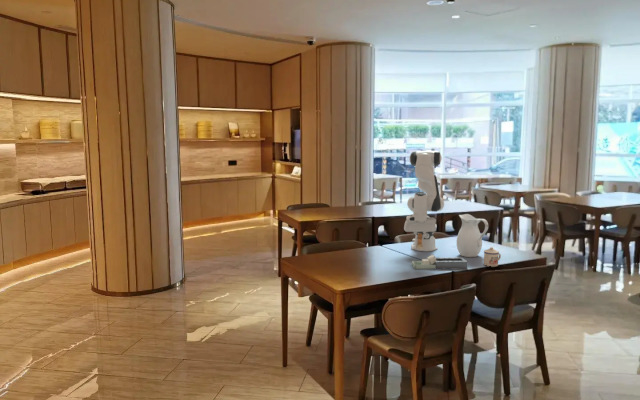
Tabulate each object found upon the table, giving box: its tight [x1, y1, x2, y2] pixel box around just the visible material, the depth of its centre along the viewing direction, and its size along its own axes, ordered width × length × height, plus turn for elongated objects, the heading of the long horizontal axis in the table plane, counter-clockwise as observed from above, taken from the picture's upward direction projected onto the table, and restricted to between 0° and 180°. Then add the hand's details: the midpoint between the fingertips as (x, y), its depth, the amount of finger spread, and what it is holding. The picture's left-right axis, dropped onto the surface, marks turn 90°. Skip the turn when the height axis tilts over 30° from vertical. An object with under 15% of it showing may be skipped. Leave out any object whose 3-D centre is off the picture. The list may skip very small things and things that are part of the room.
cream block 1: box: [421, 258, 430, 265], centre depth 319 cm, size 4×4×4 cm
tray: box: [411, 260, 436, 270], centre depth 320 cm, size 10×13×2 cm
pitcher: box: [456, 213, 489, 258], centre depth 344 cm, size 24×17×28 cm
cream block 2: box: [426, 254, 437, 264], centre depth 319 cm, size 4×4×4 cm
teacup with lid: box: [483, 246, 501, 268], centre depth 323 cm, size 12×9×12 cm
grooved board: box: [432, 256, 468, 270], centre depth 320 cm, size 10×20×4 cm, turn 91°
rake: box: [417, 233, 423, 249], centre depth 327 cm, size 5×3×10 cm, turn 1°
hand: (419, 238), depth 327 cm, fingers closed on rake, 2 cm apart
